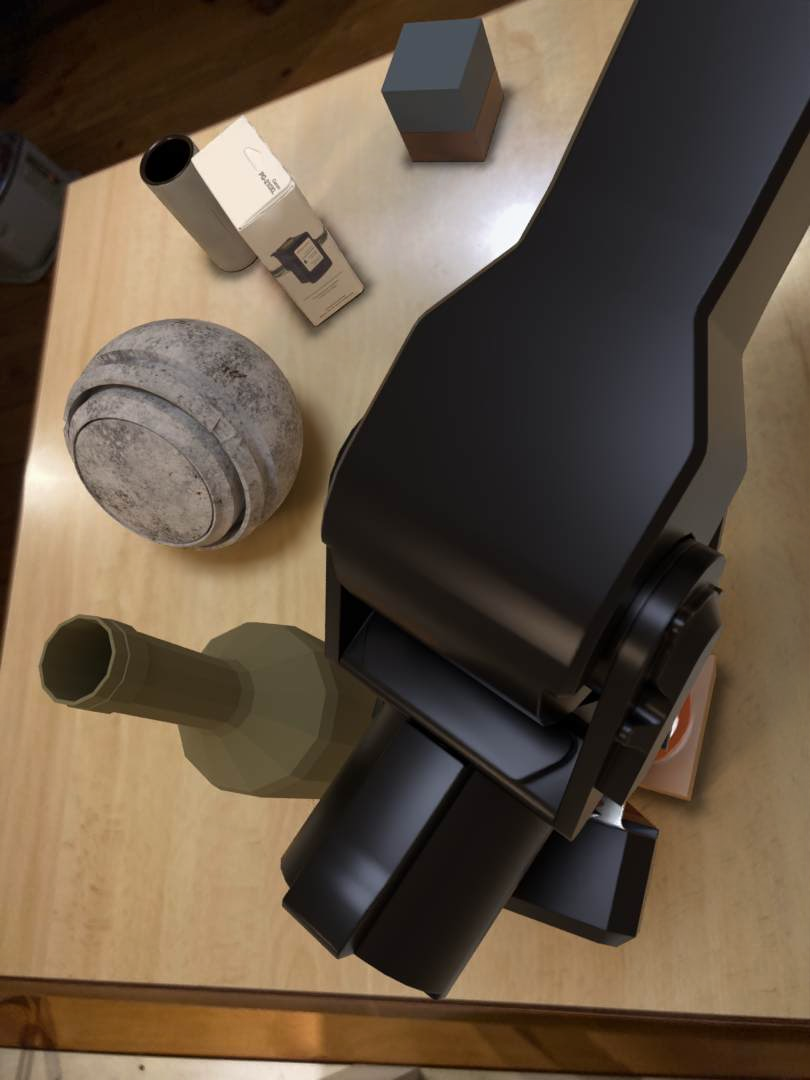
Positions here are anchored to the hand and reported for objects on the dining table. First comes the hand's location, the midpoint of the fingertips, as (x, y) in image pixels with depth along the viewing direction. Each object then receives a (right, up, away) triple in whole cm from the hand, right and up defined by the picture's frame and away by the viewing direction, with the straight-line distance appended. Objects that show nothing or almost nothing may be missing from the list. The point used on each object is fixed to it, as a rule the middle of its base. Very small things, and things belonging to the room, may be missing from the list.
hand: (626, 701), depth 40 cm
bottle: (-10, -5, +11) cm, 16 cm away
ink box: (-17, +28, +25) cm, 41 cm away
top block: (-8, +40, +22) cm, 47 cm away
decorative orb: (-22, +12, +21) cm, 33 cm away
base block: (-7, +40, +25) cm, 47 cm away
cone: (+1, -1, +1) cm, 2 cm away
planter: (-24, +32, +28) cm, 49 cm away
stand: (+2, -2, +7) cm, 8 cm away
